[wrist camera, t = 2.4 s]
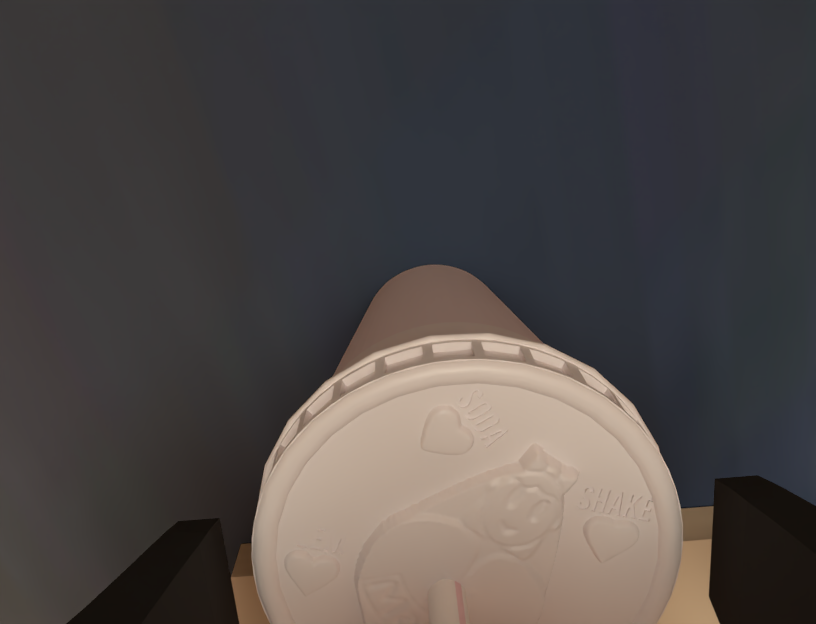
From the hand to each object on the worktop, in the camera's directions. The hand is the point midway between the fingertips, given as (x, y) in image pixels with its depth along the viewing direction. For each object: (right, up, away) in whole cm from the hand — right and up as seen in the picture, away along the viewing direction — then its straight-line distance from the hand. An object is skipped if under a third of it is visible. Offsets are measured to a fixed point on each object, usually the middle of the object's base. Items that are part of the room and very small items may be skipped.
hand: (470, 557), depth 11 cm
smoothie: (0, +3, +9) cm, 10 cm away
